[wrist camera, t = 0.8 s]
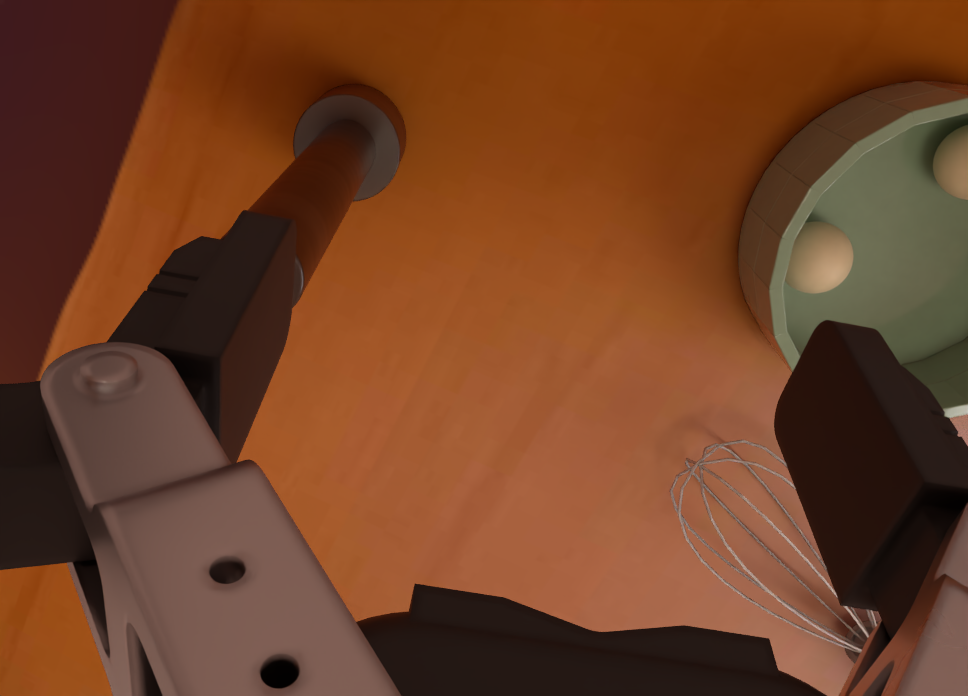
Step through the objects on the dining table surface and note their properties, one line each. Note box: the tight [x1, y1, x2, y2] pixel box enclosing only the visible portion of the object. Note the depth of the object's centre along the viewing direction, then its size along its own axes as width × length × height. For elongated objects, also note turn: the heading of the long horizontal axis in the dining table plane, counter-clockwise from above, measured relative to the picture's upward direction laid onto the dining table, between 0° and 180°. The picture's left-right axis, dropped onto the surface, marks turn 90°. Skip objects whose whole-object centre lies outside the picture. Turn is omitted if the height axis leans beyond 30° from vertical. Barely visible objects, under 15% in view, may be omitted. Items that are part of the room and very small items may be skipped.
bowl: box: [738, 81, 968, 418], centre depth 36 cm, size 14×14×5 cm
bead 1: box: [785, 221, 854, 294], centre depth 37 cm, size 3×3×3 cm
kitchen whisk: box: [670, 440, 879, 663], centre depth 46 cm, size 6×34×6 cm, turn 42°
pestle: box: [220, 84, 406, 308], centre depth 29 cm, size 4×4×18 cm
